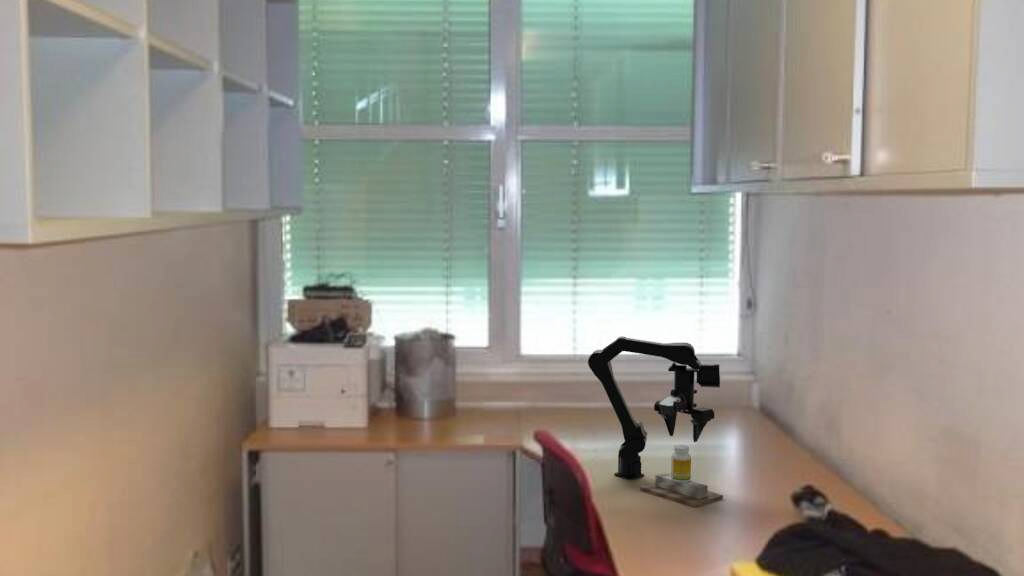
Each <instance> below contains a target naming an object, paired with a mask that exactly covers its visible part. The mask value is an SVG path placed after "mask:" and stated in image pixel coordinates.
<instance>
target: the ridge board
mask: <svg viewBox="0 0 1024 576" xmlns="http://www.w3.org/2000/svg"><path fill="white" fill-rule="evenodd" d="M654 480H655V482H651V483H648V484H644V485H640V486H639V490H640V491H642V492H644V493H648V494H652V495H654V496H657V497H660V498H663V499H668V500H671V501H673V502H677V503H680V504H683V505H686V506H688V507H693V508H696V507H699V506H700V507H701V506H703V505H706V504H710V503H713V502H717V501H720V500H723V499H724V495H723V494H721V493H717V492H714V491H710V490H708V489H709V486H708V485H707V484H703V483H700V482H697V481H694V480H693V481H692V480H690V481H689V482H685V483H680V482H675V481H673V480H672V479H671V474H669V473H666V472H663V473H659V474H655V479H654Z"/></svg>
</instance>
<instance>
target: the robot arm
mask: <svg viewBox="0 0 1024 576" xmlns="http://www.w3.org/2000/svg"><path fill="white" fill-rule="evenodd" d="M623 352H627V353H633V354H639V355H644V356H645V355H647V356H654V357H658V358H659V357H660V358H663V359H666V360H669V361H670V362H672V364H671V365H669V366H668V369H667V371H668V372H674V382H673V383H674V385H673V387H674V388H673V389H671V391H670V395H669V396H668V397H665V398H664V399H661V400H656V401H655V403H654V405H653V408H654V409H653V410H654V411H655V412H657V415H660V416H661V417H662V419H663V420H664V422H665V425H666V428H667V432H668V434H669V436H670V437H674V434H675V429H676V421H677V416H678V413H682V414H686V415H690V417H691V419H690V422H691V423H692V439H693V442H694V443H697V442H698V440H699V438H700V437H701V435H702V432H703V431H704V428H705V427H706V425H707V424H708V422H711V420H714V419H715V410H714V409H713V408H708V407H705V406H703V407H697V406H698V405H697V403H695V402H694V401H695V394H698V389H695V373H696V384H698V386H699V385H700V388H715V389H717V388H718V389H719V388H720V387H721V374H720V364H718V363H714V364H707V363H705V364H703V363H701V361H700V359H699V358H698V357H697V356H696V350H695V348H694V346H693V344H691V343H690V342H669V343H664V342H663V343H662V342H656V341H651V340H650V341H649V340H643V339H637V338H631V337H626V336H618V337H617V338H616V340H614V341H613V342H611V343H610V344H608V345H607V346H605V347H604V348H603V349H596V350H594V351H592V353H591V354H590V356H589V357H588V360H587V364H588V367H589V369H590V370H591V372H592V374H593V375H594V376H595V377H596V378H597V380H598V381H599V382H600V383H601V385H602V387H603V389H604V391H605V394H606V395H607V398H608V400H609V402H610V404H611V406H612V408H613V410H614V412H615V414H616V417H617V419H618V421H619V424H620V426H621V429H622V430H621V431H622V435H623V439H624V442H622V443H621V444H620V446H619V449H618V457H617V458H618V459H617V461H618V462H617V463H618V465H617V472H614V476H617V477H620V478H623V479H627V480H633V479H636V478H640V477H644V476H645V474H644V473H642V462H641V459H642V458H641V456H640V454H639V453H642V452H643V450H645V447H646V444H647V440H648V438H647V437H648V432H647V431H646V429H645V428H644V425H643V422H642V421H640V422H637V421H636V419H634V417H633V415H632V413H631V410H630V408H629V406H628V405H627V402H626V400H625V397H624V396H623V394H622V391H621V390H620V389H621V388H620V387H619V385H618V383H617V381H616V380H617V379H615V376H614V371H613V366H612V360H613V359H614V358H616V357H617V356H619V355H620V354H621V353H623ZM687 366H688V367H687Z"/></svg>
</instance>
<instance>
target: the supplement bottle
mask: <svg viewBox="0 0 1024 576" xmlns="http://www.w3.org/2000/svg"><path fill="white" fill-rule="evenodd" d="M673 451H674V452H673V453H672V455H671V465H670V466H671V468H670V469H671V471H670V473H671V474H670V475H671V479H672V480H673V481H675V482H680V483H685V482H689V481H691V477H692V476H691V473H692V472H691V470H692V469H691V468H692V456H691V454H690V453H689V452H690V446H688V445H685V444H677V445H674V447H673Z"/></svg>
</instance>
